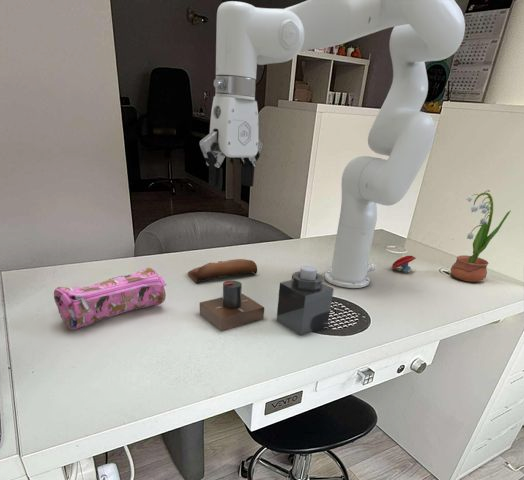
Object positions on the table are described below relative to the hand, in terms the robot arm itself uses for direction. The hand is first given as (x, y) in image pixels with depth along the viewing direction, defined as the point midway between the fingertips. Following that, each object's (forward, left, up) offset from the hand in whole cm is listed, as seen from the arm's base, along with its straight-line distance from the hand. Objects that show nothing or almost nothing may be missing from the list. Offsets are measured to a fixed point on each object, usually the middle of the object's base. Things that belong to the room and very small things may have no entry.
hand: (231, 186), depth 82 cm
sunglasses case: (-7, -14, -26) cm, 30 cm away
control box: (+5, +9, -25) cm, 27 cm away
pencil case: (+26, -4, -26) cm, 37 cm away
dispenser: (-6, +20, -25) cm, 33 cm away
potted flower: (-71, +22, -26) cm, 78 cm away
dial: (+5, +9, -22) cm, 25 cm away
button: (-58, +9, -26) cm, 64 cm away
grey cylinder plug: (-6, +20, -15) cm, 25 cm away
